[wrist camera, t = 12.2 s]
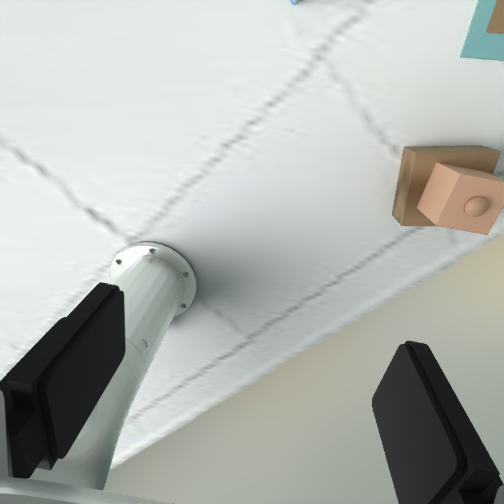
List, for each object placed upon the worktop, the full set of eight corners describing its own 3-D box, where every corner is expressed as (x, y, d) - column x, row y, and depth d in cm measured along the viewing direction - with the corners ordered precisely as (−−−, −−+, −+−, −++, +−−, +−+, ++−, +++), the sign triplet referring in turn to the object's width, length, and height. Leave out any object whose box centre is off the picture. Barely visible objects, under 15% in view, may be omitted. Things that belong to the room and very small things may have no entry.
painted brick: (461, 216, 35) (490, 237, 30) (416, 207, 35) (438, 227, 30) (484, 171, 33) (520, 186, 28) (436, 162, 33) (463, 175, 28)
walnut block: (459, 213, 39) (477, 226, 35) (391, 213, 40) (401, 226, 36) (478, 145, 35) (499, 151, 32) (402, 146, 36) (415, 152, 32)
